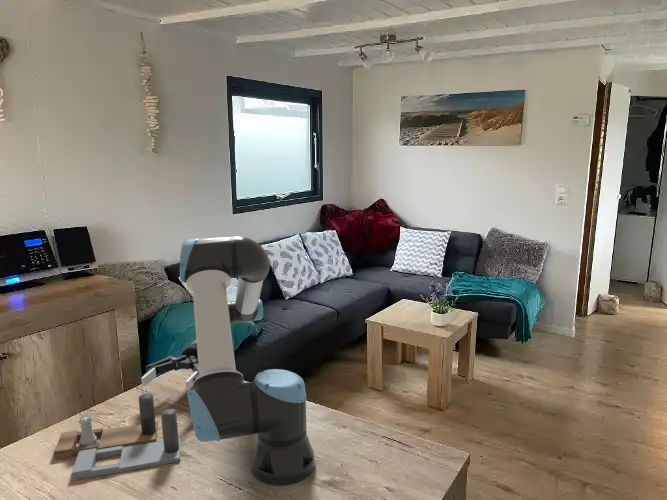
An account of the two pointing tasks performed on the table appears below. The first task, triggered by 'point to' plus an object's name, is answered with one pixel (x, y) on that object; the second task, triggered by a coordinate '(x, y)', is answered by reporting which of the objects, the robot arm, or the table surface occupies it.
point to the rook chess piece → (87, 431)
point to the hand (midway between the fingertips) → (164, 384)
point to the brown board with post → (114, 433)
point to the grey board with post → (133, 453)
